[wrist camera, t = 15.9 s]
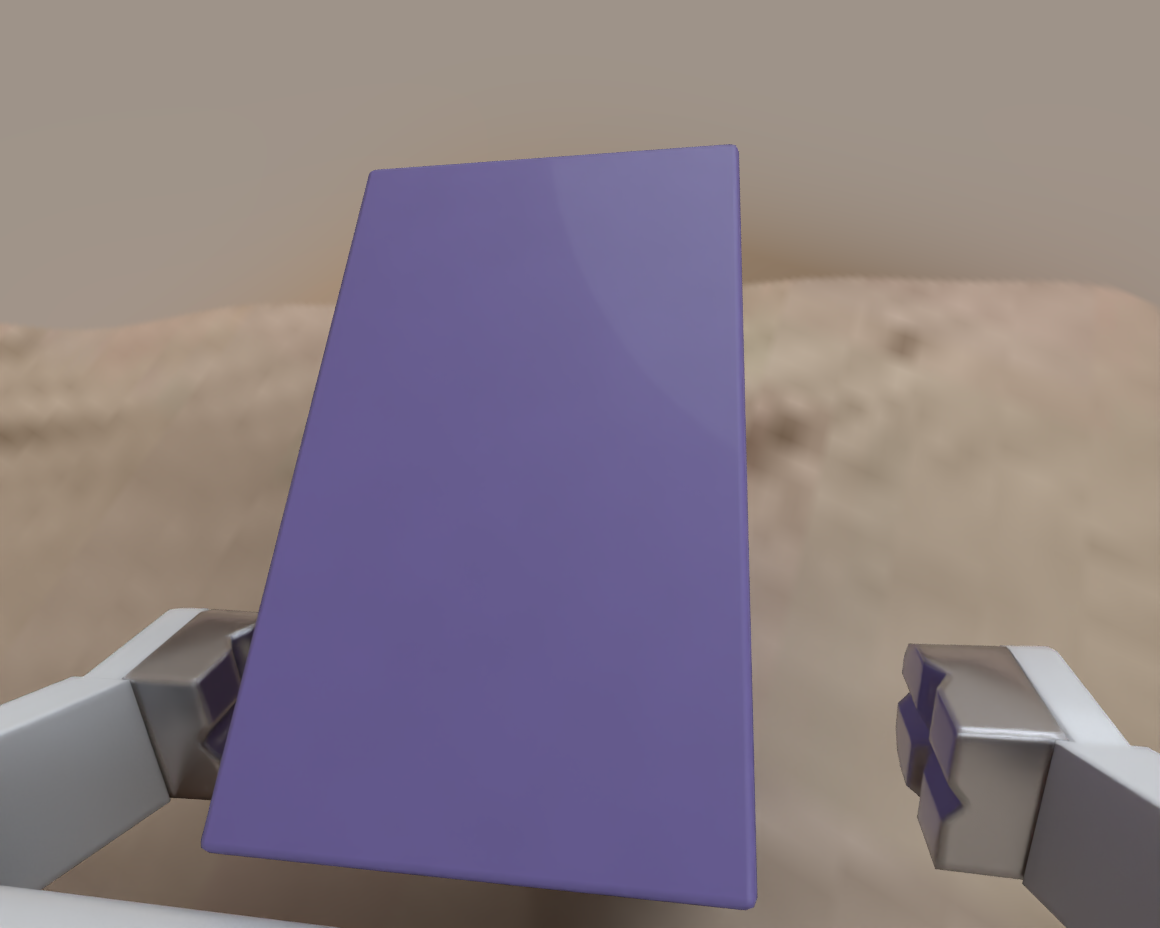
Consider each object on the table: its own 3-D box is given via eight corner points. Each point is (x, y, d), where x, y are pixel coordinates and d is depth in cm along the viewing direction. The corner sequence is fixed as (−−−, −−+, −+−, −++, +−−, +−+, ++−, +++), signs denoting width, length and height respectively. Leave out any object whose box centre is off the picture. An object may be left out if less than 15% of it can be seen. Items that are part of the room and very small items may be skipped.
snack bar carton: (528, 804, 14) (193, 853, 5) (554, 512, 16) (367, 166, 7) (718, 821, 13) (757, 913, 4) (716, 514, 15) (738, 140, 6)
